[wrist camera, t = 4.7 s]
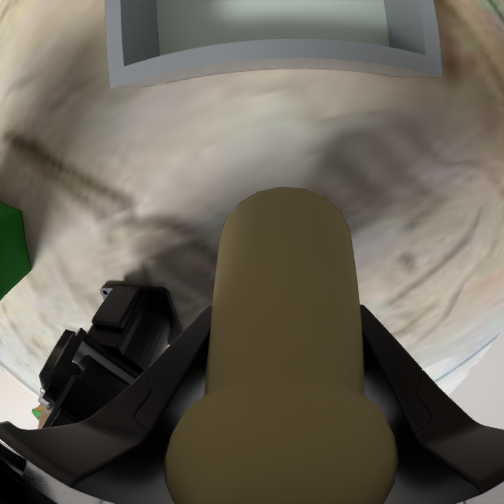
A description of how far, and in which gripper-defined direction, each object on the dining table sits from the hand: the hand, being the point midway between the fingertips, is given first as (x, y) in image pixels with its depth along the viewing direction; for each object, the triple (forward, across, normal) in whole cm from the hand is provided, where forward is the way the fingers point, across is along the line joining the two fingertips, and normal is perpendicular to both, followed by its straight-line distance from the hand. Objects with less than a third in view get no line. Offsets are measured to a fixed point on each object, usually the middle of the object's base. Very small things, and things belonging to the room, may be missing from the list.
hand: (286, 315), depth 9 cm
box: (+8, 0, -15) cm, 17 cm away
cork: (+4, 0, 0) cm, 4 cm away
